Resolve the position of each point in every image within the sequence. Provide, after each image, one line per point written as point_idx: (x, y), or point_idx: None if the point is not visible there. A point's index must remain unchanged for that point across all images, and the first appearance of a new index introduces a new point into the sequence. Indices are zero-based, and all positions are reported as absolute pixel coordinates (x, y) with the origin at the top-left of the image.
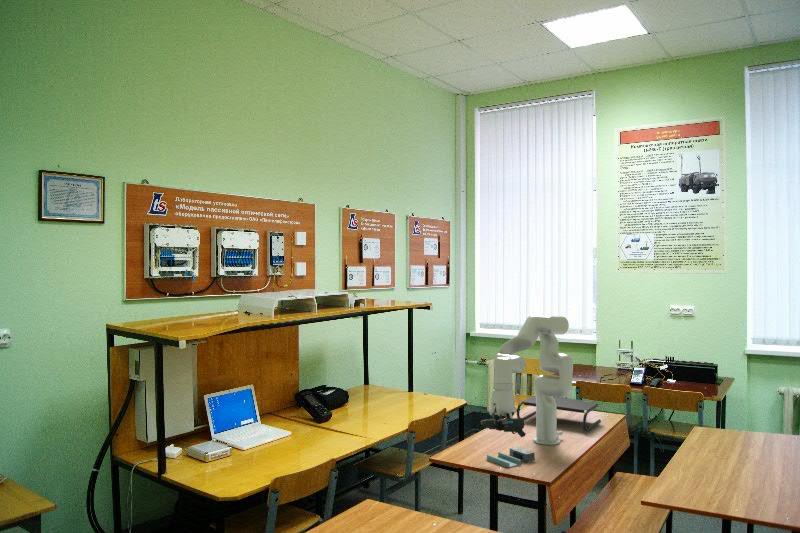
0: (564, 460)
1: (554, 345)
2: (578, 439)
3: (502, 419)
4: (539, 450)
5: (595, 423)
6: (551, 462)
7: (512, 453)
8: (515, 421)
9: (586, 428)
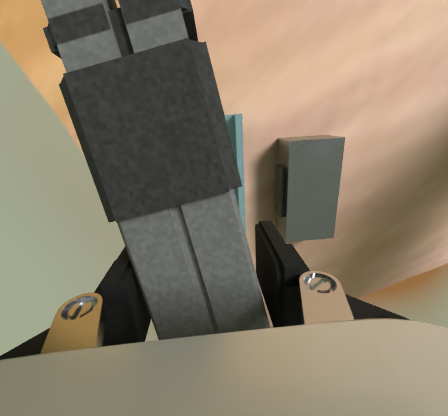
0: (393, 266)
1: None
2: None
3: (213, 292)
4: (437, 141)
5: None
6: (345, 261)
7: (282, 158)
8: None
9: None
